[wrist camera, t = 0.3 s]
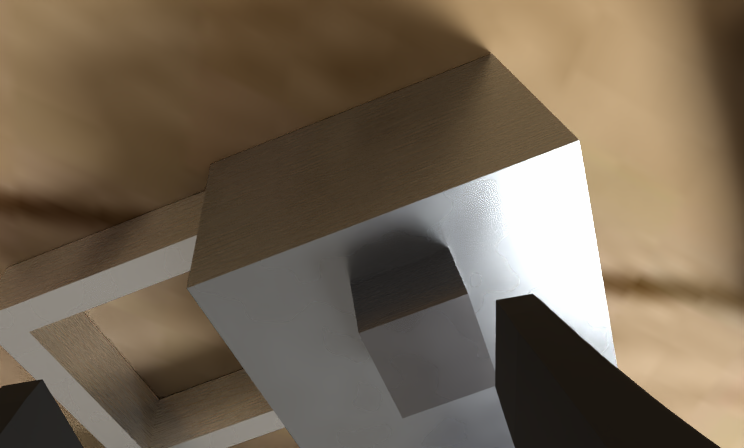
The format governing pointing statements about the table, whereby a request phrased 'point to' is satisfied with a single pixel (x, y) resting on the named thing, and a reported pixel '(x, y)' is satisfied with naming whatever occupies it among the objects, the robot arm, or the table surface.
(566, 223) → the silver box with frame
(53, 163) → the table surface
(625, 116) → the table surface
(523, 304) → the robot arm
